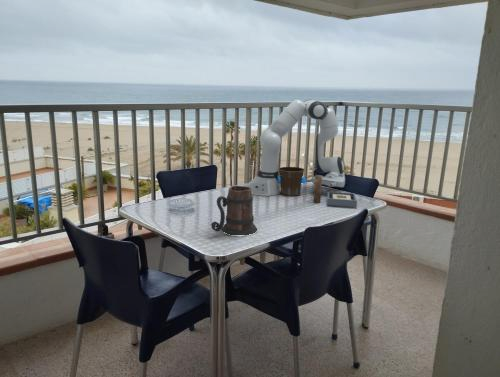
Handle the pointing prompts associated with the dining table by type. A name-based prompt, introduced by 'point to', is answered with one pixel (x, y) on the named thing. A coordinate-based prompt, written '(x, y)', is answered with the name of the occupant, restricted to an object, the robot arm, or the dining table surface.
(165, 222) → the dining table surface
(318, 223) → the dining table surface
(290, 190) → the plant pot
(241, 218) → the tankard
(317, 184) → the peg
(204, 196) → the dining table surface
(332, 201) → the tray
